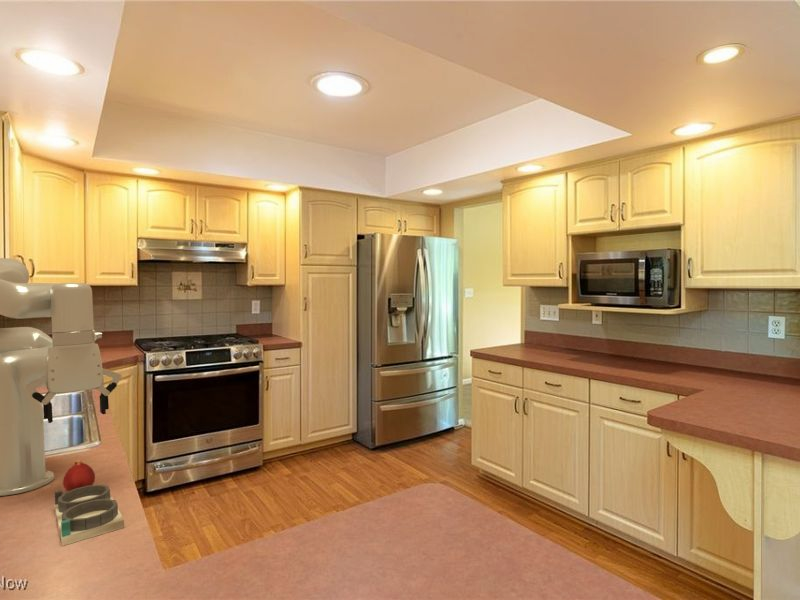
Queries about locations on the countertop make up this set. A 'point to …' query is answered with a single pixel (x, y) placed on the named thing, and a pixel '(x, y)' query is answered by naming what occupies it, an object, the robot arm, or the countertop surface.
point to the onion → (78, 476)
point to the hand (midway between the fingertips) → (77, 417)
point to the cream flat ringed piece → (86, 513)
